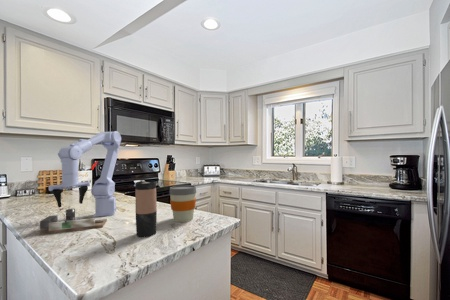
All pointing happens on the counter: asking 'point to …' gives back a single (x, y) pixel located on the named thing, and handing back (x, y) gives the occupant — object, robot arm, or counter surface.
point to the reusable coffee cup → (183, 202)
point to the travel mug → (146, 208)
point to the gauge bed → (68, 224)
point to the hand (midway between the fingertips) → (70, 205)
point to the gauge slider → (70, 215)
